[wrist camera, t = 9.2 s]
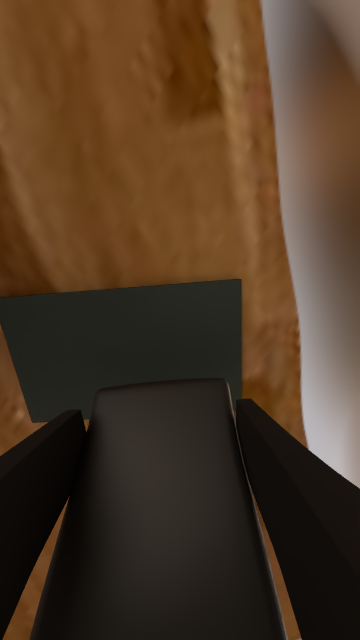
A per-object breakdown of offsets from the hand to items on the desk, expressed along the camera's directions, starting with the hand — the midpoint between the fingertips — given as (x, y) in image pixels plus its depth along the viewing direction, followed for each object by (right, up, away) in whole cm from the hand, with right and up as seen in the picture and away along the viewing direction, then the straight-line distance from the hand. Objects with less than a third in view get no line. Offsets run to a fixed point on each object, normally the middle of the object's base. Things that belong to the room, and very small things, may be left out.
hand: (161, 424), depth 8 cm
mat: (-4, +1, +9) cm, 10 cm away
